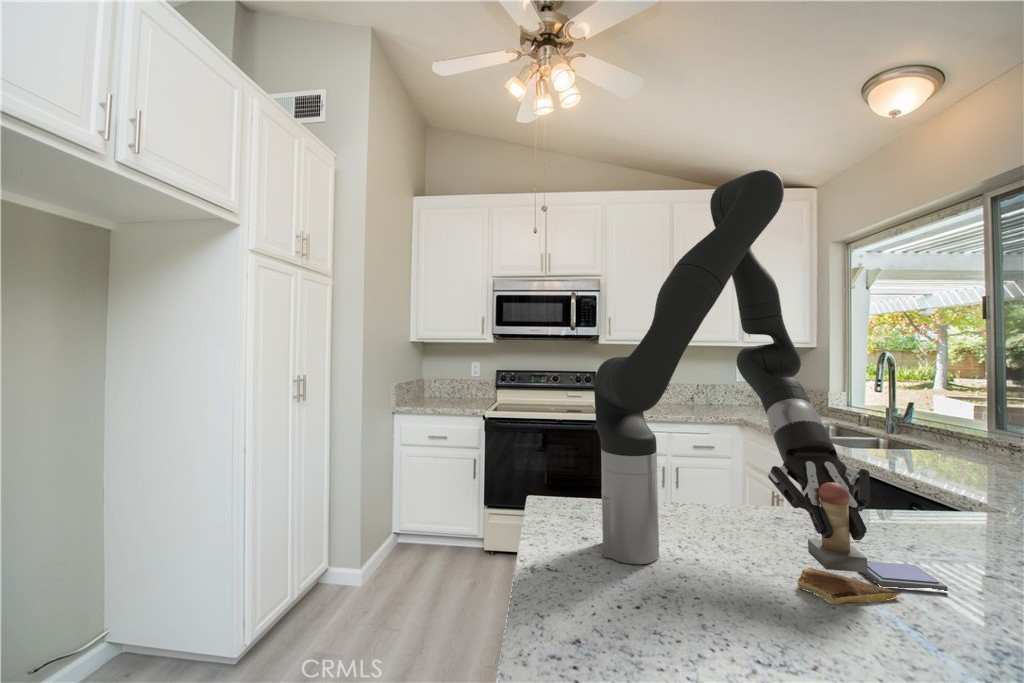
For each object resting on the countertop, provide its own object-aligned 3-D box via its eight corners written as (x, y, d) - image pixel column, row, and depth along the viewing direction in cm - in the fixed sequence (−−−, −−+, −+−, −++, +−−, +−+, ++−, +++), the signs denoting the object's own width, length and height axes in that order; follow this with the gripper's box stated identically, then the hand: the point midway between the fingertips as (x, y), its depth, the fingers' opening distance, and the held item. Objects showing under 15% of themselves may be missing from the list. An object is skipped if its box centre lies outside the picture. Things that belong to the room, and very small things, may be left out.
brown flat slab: (901, 603, 56) (901, 589, 56) (902, 630, 50) (902, 615, 51) (804, 575, 63) (804, 563, 64) (796, 596, 58) (795, 583, 58)
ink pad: (880, 587, 59) (880, 579, 59) (855, 566, 65) (854, 559, 65) (947, 593, 57) (947, 584, 57) (915, 571, 63) (914, 563, 63)
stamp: (826, 569, 57) (822, 487, 58) (808, 552, 62) (805, 476, 63) (867, 572, 56) (864, 489, 57) (846, 554, 61) (843, 478, 62)
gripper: (757, 418, 69) (795, 522, 56) (855, 419, 66) (917, 528, 54) (747, 444, 74) (780, 544, 61) (837, 445, 71) (890, 551, 59)
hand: (843, 536), depth 57 cm, fingers closed on stamp, 3 cm apart
